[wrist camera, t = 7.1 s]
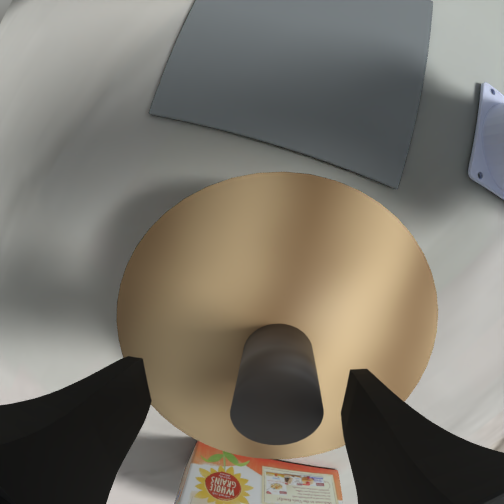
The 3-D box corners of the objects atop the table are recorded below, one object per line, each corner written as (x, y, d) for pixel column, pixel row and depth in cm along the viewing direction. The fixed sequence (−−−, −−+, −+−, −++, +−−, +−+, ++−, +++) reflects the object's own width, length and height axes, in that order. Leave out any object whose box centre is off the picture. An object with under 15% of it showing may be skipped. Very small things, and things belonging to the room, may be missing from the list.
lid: (448, 186, 11) (518, 191, 6) (391, 442, 14) (411, 499, 10) (112, 178, 12) (41, 179, 8) (149, 434, 15) (122, 489, 11)
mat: (430, 4, 13) (432, 1, 13) (394, 188, 17) (397, 189, 16) (229, -54, 14) (228, -58, 13) (151, 115, 17) (148, 113, 17)
